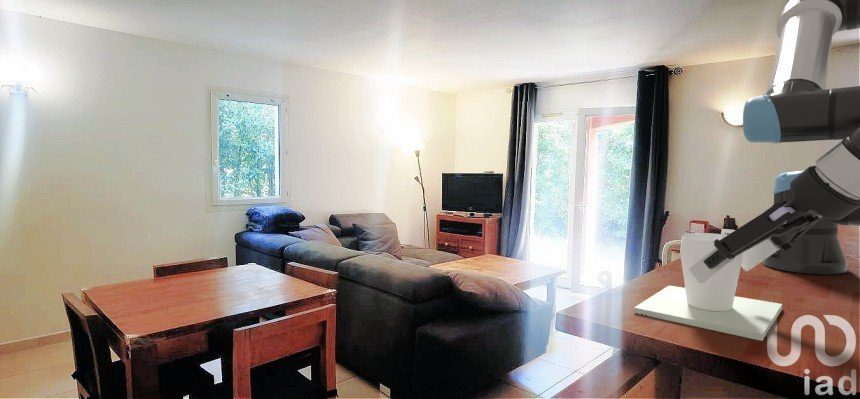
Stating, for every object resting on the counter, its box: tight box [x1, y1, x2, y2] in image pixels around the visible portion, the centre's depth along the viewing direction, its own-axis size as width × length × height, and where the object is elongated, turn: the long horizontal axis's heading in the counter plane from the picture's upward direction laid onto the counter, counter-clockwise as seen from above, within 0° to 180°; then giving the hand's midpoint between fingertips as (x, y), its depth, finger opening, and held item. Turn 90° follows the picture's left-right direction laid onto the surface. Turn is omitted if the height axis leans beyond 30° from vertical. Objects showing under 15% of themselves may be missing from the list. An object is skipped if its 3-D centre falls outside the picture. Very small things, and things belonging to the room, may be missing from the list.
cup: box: [679, 232, 743, 311], centre depth 75 cm, size 9×9×12 cm
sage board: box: [633, 285, 783, 342], centre depth 76 cm, size 18×18×1 cm
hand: (719, 270), depth 73 cm, fingers open, 13 cm apart
